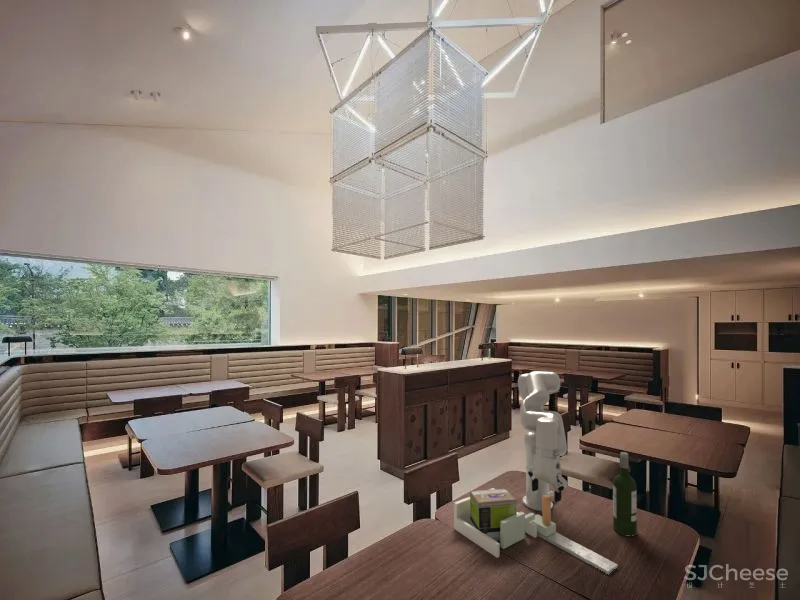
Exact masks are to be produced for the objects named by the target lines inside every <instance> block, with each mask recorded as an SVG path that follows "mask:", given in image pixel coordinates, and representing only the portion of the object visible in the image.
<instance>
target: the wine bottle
mask: <svg viewBox="0 0 800 600" xmlns="http://www.w3.org/2000/svg"><path fill="white" fill-rule="evenodd" d="M619 455H620V457H619V458H620V460H619V461H620V464H619V465H620V466H619V473H618V474H616V475H614V477H613V479H612V528H613V530H614V532H616V533H617V534H618V533H619V534H618V535H621V534H622V535H621V536H623V535H630V536H632V535H635V534H636V533H637V534H638V525H637V521H638V520H637V518H638V517H637V515H638V514H637V512H638V511H637V505H638V504H637V503H638V501H637V499H638V498H637V483H636V480H634V478H633V477H632V476H631V475H630V469H629V467H630V466H629V464H630V463H629V454H628V452H626V451H625V452H624V451H621V452H620V454H619ZM637 534H636V535H637Z"/></svg>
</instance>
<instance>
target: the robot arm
mask: <svg viewBox="0 0 800 600" xmlns="http://www.w3.org/2000/svg"><path fill="white" fill-rule="evenodd" d="M560 379H561V378H560V376H559V374H558V373H556V372H553V371H531V372H529V373H524V374H520V375H519V376H518V379H517V387H518V393H519V394H520V397H521V400H522V402H521V403H520V408H519V414H520V422H521V426H522V428H523V430H525V431H527V432H526V433H525V434H524V438H523V441H524V442H523V443H524V449H525V459H526V460H525V462H526V463H525V469H526V470H525V471H526V472H525V473H526V474H525V476H526V477H525V480H526V481H525V489H526V490H525V492H526V493H525V494H526V495H524V496H523V497H522V504H523V505H524V506H526V507H527V508H529V509H531V510H534V511H539V512H542V496H543V495H548V496H550V497H551V498H552V497H553V496H554V498H553V499H554V500H553V501H554V503H559V502H561V500H562V491H564V490H565V489H566V488H567V487H568V485H569V481H568V480H566V479H565V478H564V477H563V476H562V466H561V460H560V456H562V457H563V456H565V455H566V454H567V451H568V449H567V448H568V447H567V446H568V445H567V440H566V438H567V437H566V432H565V427H564V421H563V416H562V415H561V414H560V413H559V412H557V411H554V410H553V411H552V410H545V408H544V406H545V405H546V404H547V403H548V402H549V401H550V393H556V392H558V391H560V388H561V380H560ZM550 485H551V486H553V488H554V491H553V490H550ZM553 501H551V510H552V509H553V507H554V506H553V505H554V504H553Z"/></svg>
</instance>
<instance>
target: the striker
mask: <svg viewBox="0 0 800 600" xmlns="http://www.w3.org/2000/svg"><path fill="white" fill-rule="evenodd" d="M551 498H552V496H551V497H550V496H548V495H543V496H542V511H541V513H542V514H541V515H542V516H541V515H540V514H538V513H537V514H535V512H529V513H527V514H526V513H525V512H523V511H520V512H518V514H515V515H513V516H511V517H509V518H507V519H504V520H502V521H500V540H499V542H500V548H501V549H503V550H505V549H506V548H509V547H511V546H512V545H513V544H516V543H518V542H519V541H522V540H523V539H524V540H525V539H526V532H525V524H527V523H529V522H533V523H535V524H537V532H539V533H541V534H542V535H544V536H546V537H547V536H549V535H551V534H552V533H554V532H557V526H556V525H557V524H556V523H555V522H554V521H552V515H551V514H552V512H551V511H552V509H551V502H552V499H551Z"/></svg>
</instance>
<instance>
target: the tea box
mask: <svg viewBox="0 0 800 600" xmlns="http://www.w3.org/2000/svg"><path fill="white" fill-rule="evenodd" d="M491 489H492V488H491ZM469 497H470V525H471V526H473V527H474V528H476V529H478V530H479V531H481V532H482V533H484V534H485V535H487V536H489V537H490V538H492V539H493V540H495V541H497V542H498V541H499V542H500V521H502V520H504V519H507V518H509V517H511V516H513V515H515V514H517V499H516V498H515V497H514V496H513V495H512V494H511V493H510V492H509V491H508V490H507V489H506V488H494V489H492V490H489V489H483V490H482V489H480V490H470V491H469Z"/></svg>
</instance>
